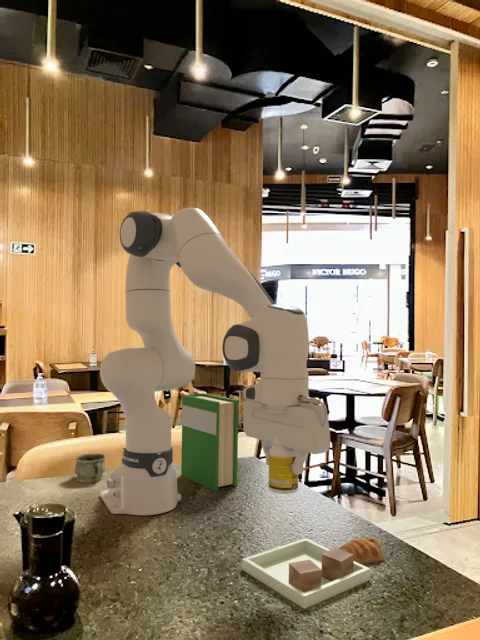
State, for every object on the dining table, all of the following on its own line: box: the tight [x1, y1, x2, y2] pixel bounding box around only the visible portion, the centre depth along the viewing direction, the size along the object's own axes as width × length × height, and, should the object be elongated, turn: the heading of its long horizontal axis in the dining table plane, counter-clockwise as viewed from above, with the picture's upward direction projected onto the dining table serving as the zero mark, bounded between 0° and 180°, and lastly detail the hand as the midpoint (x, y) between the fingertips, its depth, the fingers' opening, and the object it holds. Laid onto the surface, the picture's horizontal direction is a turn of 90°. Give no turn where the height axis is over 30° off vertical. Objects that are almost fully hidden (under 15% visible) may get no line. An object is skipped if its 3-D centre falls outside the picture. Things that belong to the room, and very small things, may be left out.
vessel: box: [74, 453, 107, 483], centre depth 149 cm, size 12×9×6 cm
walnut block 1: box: [289, 560, 322, 593], centre depth 86 cm, size 4×4×4 cm
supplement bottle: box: [268, 437, 299, 495], centre depth 94 cm, size 5×5×10 cm
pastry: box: [337, 536, 386, 565], centre depth 100 cm, size 9×7×4 cm
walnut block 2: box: [322, 547, 354, 581], centre depth 91 cm, size 4×4×4 cm
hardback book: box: [180, 392, 239, 492], centre depth 149 cm, size 18×7×24 cm, turn 38°
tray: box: [241, 537, 371, 610], centre depth 92 cm, size 16×16×2 cm
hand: (283, 469), depth 94 cm, fingers closed on supplement bottle, 5 cm apart
